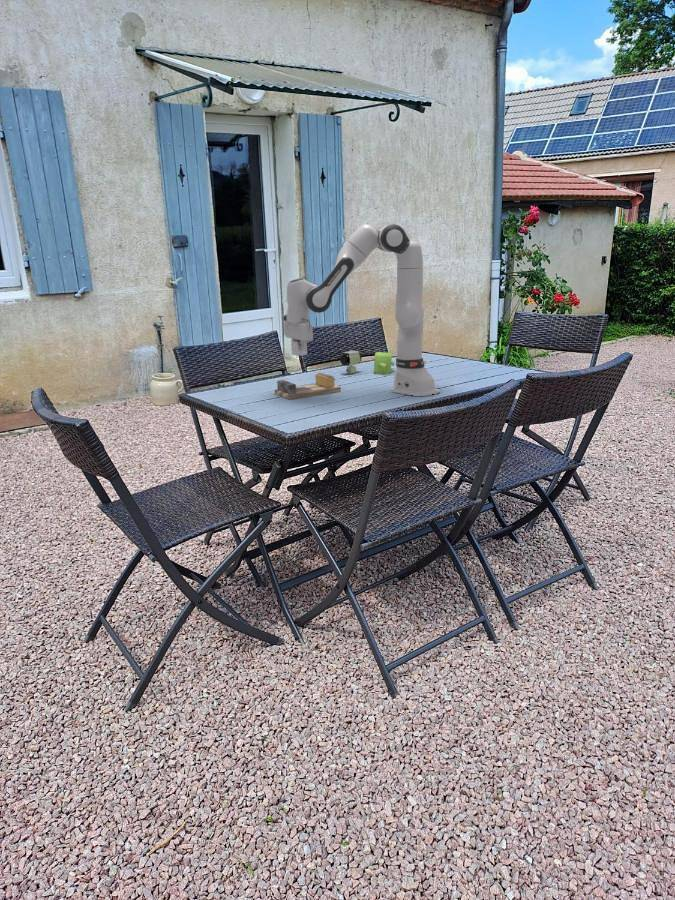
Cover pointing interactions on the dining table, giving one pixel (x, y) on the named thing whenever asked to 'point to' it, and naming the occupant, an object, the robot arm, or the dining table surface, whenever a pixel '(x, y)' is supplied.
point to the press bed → (302, 390)
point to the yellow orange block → (324, 380)
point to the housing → (297, 348)
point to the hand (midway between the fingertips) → (299, 349)
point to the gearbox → (383, 363)
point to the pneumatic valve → (350, 360)
